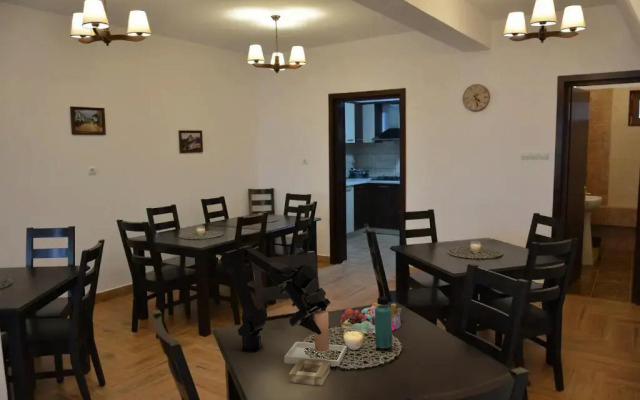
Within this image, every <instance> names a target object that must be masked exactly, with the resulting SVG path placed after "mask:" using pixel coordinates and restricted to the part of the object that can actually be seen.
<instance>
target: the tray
mask: <svg viewBox="0 0 640 400" xmlns="http://www.w3.org/2000/svg"><path fill="white" fill-rule="evenodd" d="M305 348H313V349H315V342H307V341H306V342H303V341H295V342H294V344H293V345H292V346H291V347H290V349H289V350H288V351H287V352H286V353H285V355H284V358H283V361H284V364H289V365H296V363H297V362H298V360H309V361H320V362H330V365H331V366H339V364H340V362H341V360H342V358H343V357H344V355H345V353H346V351H347V352H348V349H347V348H348V346H347V345H341V344H330V343H329V350H337V351H341V353H340V355H339V357H338V359H337V360H327V359H323V357H322V359H320V358H319V357H317V358H318V359H316V358H309V356H308V355H306V354H305V352H304V351H305V350H306V349H305ZM304 349H305V350H304ZM306 351H307V350H306ZM314 352H315V351H314ZM316 353H317V352H316ZM346 354H347V353H346ZM318 355H320V354H318ZM322 355H324V354H322ZM345 356H346V355H345ZM344 358H345V357H344ZM339 367H340V366H339Z"/></svg>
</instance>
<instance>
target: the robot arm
mask: <svg viewBox="0 0 640 400" xmlns="http://www.w3.org/2000/svg"><path fill="white" fill-rule="evenodd" d="M245 260H247V261H248V262H250V263H252V264H253V265H255V266H256V267H257V268H259V269H261V270H262V271H264V272H265V273H266V274H267V275H268V278H269V279H270V280H271V281H272V282H274V283H275V284H276V285H280V291H279V294H280V295H283V294H285V293H286V295H287V296H288V298H289V299H290V300H291V301H292V304H291V305H292V307H293V308H294V307H296V308H297V311H296V312H294V313H293V315H292V316H290V318H289V319H288V321H289V322H288V323H289V324H290V326H291V328H294V327H295V326H297V325H298V326H299V327H303V328H305V329H307V330H309V331H312V332H313V333H314V332H315V333H317V334H319V335H320V334H321V331H320V329H319V328H318V326H317V324H316V323H315V321H314V312H316V311H327V310H326V309H327V308H328V306H329V305H330V304H331V301H330V300H329V298H326V297H325V296H326V295H327V292H326V291H325V290H324V289H323V287H320V288H317V289H316V290H315V292H314V293H311V292H309V291H306V290H305V289H307V288H308V286H310V285H311V284H312V282H313V281H314V280H315V279H316V278H317V274H316V273H317V272H316V271H315V270H314V269H313V268H311V267H309V266H307V265H306V264H305V263H303V264H301V265H300V266H299V267H298V268H297V269H294V268H292V266H289V264H286V263H283V262H277V261H275V260H273V259H271V258H270V257H267V256H266V255H264V253H261V252H259V251H258V250H257V249H256V248H254V247H253V246H251V245H245V246H242V247H240V248H239V249H233V250H229V251H225V252H223V253H222V254H221V255H220V263H221V265H222V267H223V269H224V270H225V272H227V274H229V275H230V277H231V280H232V282H233V285H234V289H235V291H236V294H237V298H238V301H239V303H240V306H241V309H242V314H241V321H242V325H241V326H240V327H239V328H238V329H237V333H238V336H241V345H242V347H241V348H240V351H241V352H251V353H256V352H257V351H259V350H260V348H261V347H262V346H263V344H262V336H261V333H260V332H261V331H263V329H264V326H265V325H266V318H267V317H266V315H265V313H264V310H263V307H262V308H259V307H257V306H256V303H255V302H254V298H253V295H252V293H251V290H250V287H249V284H248V281H247V278H246V276H245V273H244V266H245ZM284 283H286V284H284ZM281 284H283V285H281ZM299 322H300V323H299ZM330 328H331V327H330V325H329V330H330Z"/></svg>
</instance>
